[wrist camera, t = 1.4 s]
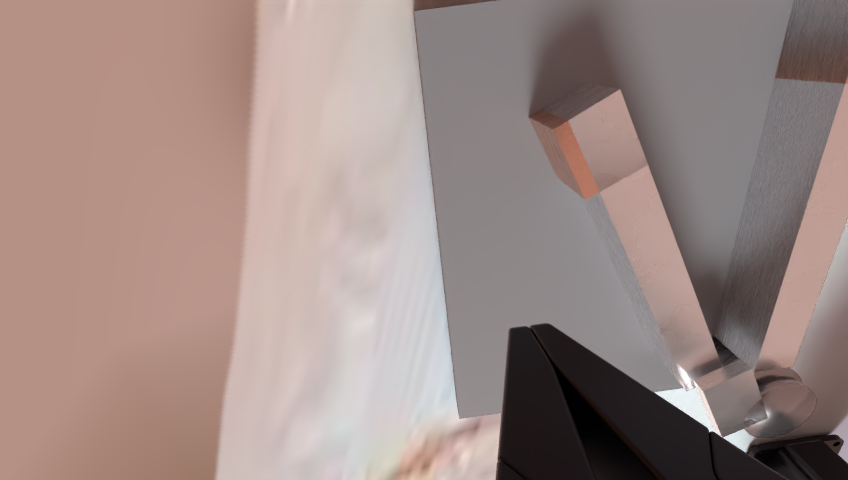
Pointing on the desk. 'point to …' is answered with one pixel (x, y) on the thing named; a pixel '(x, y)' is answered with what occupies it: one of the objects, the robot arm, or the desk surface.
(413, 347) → the desk surface
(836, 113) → the fixed tong arm
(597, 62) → the mat
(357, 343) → the desk surface
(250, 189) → the desk surface
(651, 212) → the tong arm
